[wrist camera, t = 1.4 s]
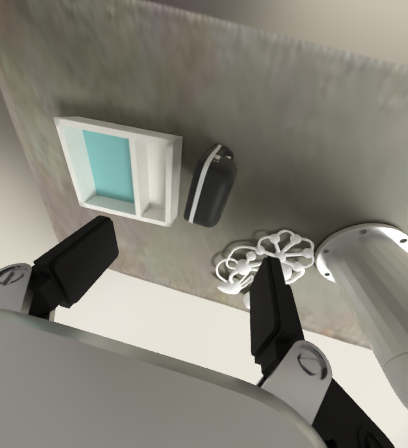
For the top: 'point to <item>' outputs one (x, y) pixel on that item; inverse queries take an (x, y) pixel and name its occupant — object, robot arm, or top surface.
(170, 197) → the divided compartment box
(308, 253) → the tangled rod sculpture
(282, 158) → the top surface
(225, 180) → the battery charger
